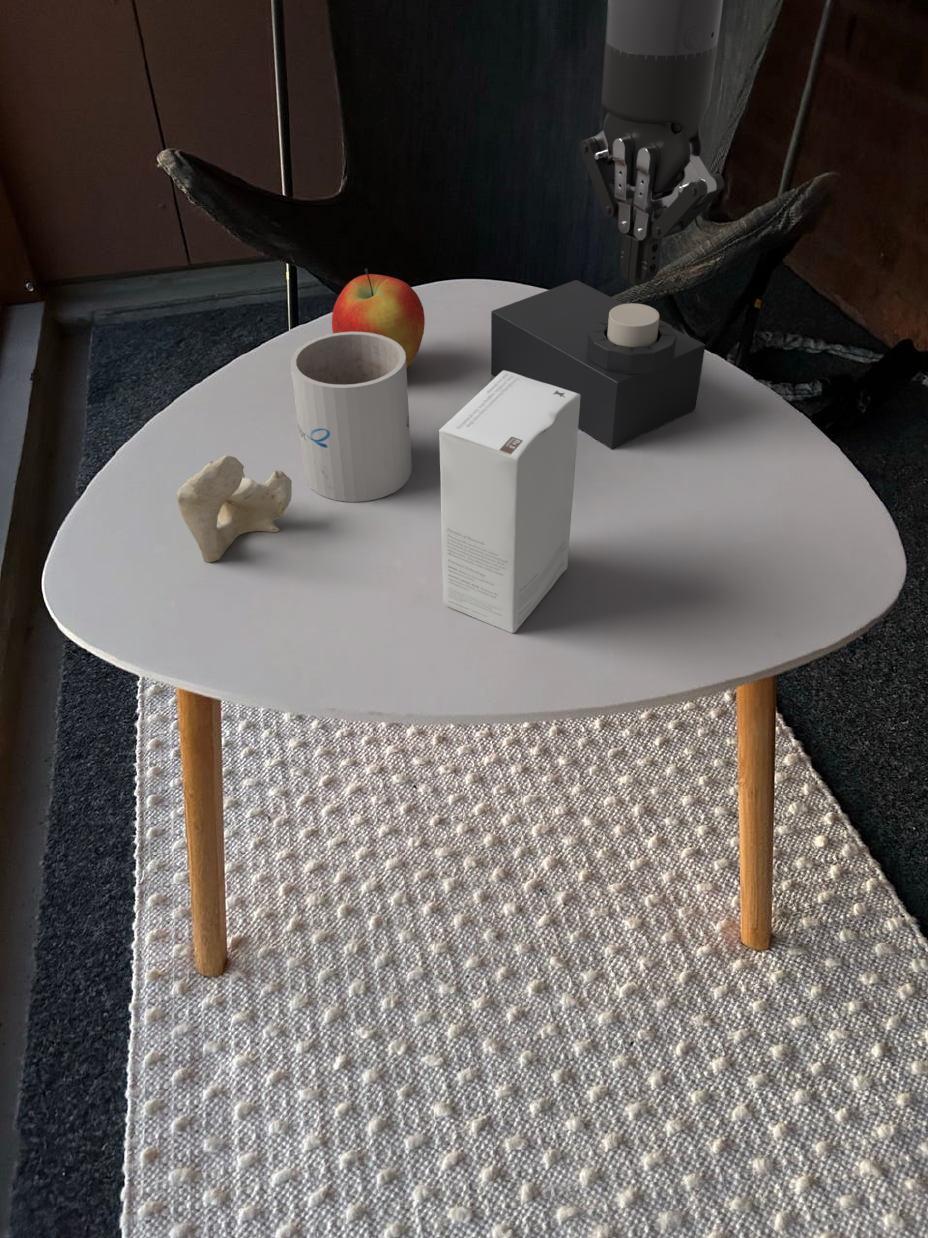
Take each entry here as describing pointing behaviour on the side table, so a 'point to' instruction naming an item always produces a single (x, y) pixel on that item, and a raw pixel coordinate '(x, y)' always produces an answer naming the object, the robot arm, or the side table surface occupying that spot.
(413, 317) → the apple
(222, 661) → the side table surface
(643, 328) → the beige push button
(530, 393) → the cosmetic box
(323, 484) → the mug
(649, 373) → the dark gray box
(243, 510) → the bone
